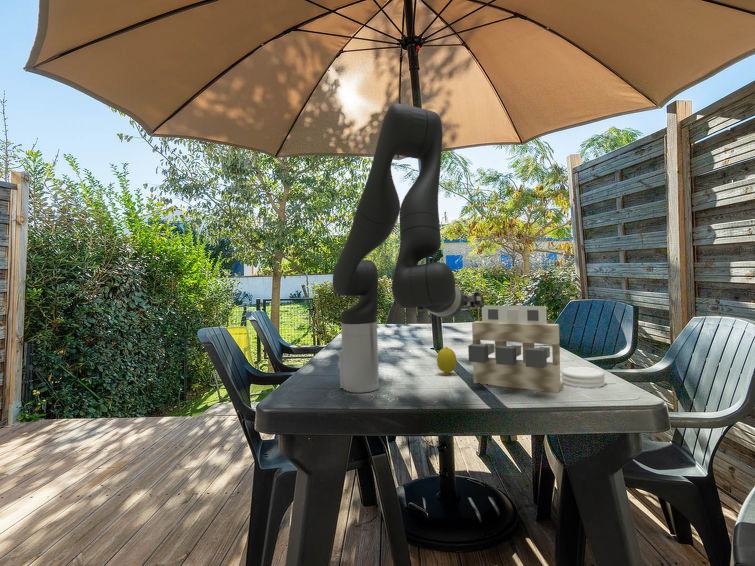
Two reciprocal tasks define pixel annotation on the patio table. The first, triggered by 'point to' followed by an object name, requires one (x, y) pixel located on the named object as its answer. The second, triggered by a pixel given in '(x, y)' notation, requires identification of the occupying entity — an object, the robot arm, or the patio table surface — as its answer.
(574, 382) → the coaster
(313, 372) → the patio table surface
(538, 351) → the button right
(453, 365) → the lemon
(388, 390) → the patio table surface
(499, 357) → the button mid
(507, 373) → the board
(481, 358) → the button left
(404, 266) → the robot arm
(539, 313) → the card
